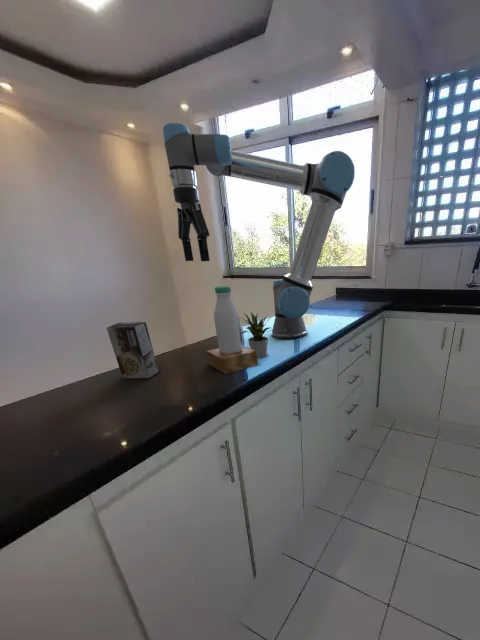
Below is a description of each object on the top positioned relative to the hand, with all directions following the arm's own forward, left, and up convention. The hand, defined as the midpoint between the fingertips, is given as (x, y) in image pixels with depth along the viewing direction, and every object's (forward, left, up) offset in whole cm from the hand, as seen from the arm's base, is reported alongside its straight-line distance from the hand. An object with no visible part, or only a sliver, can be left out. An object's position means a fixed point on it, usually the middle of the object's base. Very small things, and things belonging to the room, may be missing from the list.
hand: (197, 261), depth 108 cm
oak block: (+3, +23, -32) cm, 39 cm away
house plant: (-8, +20, -32) cm, 38 cm away
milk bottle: (+3, +23, -27) cm, 36 cm away
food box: (+29, +10, -32) cm, 44 cm away
